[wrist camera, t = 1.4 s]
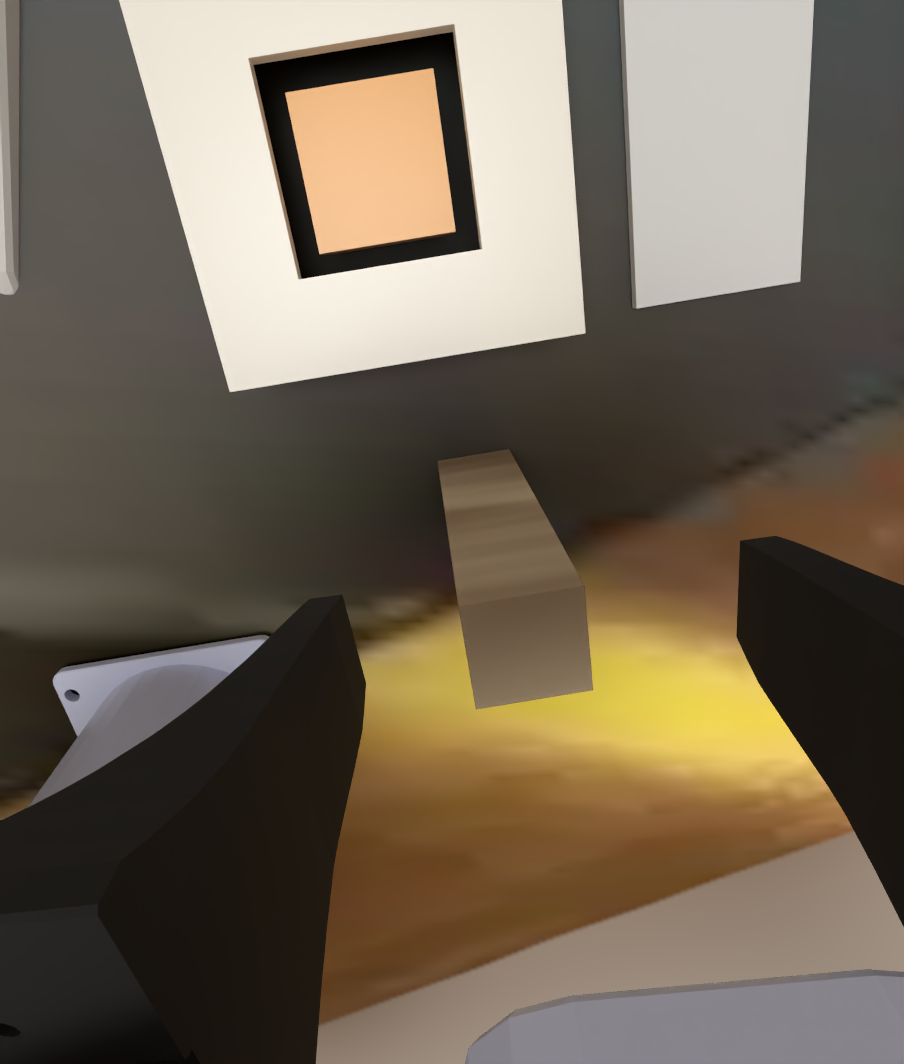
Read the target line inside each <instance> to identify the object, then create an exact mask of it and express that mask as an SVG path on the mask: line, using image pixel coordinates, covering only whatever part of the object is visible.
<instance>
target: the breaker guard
mask: <svg viewBox="0 0 904 1064" xmlns="http://www.w3.org/2000/svg"><path fill="white" fill-rule="evenodd" d="M119 1H120V5H121V8H122V12H123V15H124V19H125V22H126V26H127V30H128V33H129V37H130V40H131V44H132V47H133V51H134V54H135V58H136V61H137V65H138V68H139V72H140V76H141V79H142V83H143V86H144V90H145V93H146V97H147V100H148V104H149V107H150V111H151V115H152V118H153V122H154V125H155V129H156V132H157V136H158V139H159V143H160V146H161V150H162V153H163V157H164V161H165V164H166V168H167V171H168V175H169V178H170V182H171V185H172V189H173V192H174V196H175V199H176V203H177V207H178V210H179V214H180V217H181V221H182V224H183V228H184V231H185V235H186V238H187V242H188V245H189V249H190V253H191V256H192V260H193V263H194V267H195V270H196V274H197V277H198V281H199V284H200V288H201V291H202V295H203V299H204V302H205V306H206V309H207V313H208V316H209V320H210V323H211V327H212V330H213V334H214V337H215V341H216V345H217V348H218V352H219V355H220V359H221V362H222V366H223V369H224V373H225V376H226V380H227V383H228V387H229V391H230V392H234V391H240V390H246V389H252V388H258V387H264V386H270V385H276V384H282V383H288V382H294V381H300V380H306V379H312V378H319V377H325V376H331V375H337V374H343V373H349V372H355V371H361V370H367V369H373V368H379V367H385V366H391V365H397V364H403V363H409V362H415V361H421V360H427V359H433V358H439V357H445V356H451V355H458V354H464V353H470V352H476V351H482V350H488V349H494V348H500V347H506V346H512V345H518V344H524V343H530V342H536V341H542V340H548V339H554V338H560V337H566V336H572V335H578V334H584V333H585V320H584V306H583V292H582V278H581V264H580V250H579V236H578V222H577V208H576V194H575V180H574V166H573V152H572V138H571V124H570V110H569V96H568V82H567V68H566V54H565V40H564V26H563V12H562V0H119ZM449 32H453V37H454V45H455V53H456V61H457V69H458V77H459V85H460V93H461V101H462V109H463V117H464V125H465V133H466V141H467V149H468V157H469V165H470V173H471V181H472V189H473V197H474V205H475V213H476V221H477V229H478V237H479V245H480V250H474V251H468V252H462V253H456V254H450V255H443V256H437V257H431V258H425V259H419V260H413V261H407V262H401V263H395V264H389V265H383V266H377V267H371V268H365V269H359V270H353V271H347V272H341V273H335V274H329V275H323V276H317V277H311V278H305V279H302V278H301V273H300V269H299V265H298V260H297V256H296V251H295V247H294V242H293V238H292V234H291V229H290V225H289V220H288V216H287V211H286V207H285V202H284V198H283V194H282V189H281V185H280V180H279V176H278V171H277V167H276V163H275V158H274V154H273V149H272V145H271V140H270V136H269V132H268V127H267V123H266V118H265V114H264V109H263V105H262V100H261V96H260V92H259V87H258V83H257V78H256V74H255V69H254V65H257V64H263V63H269V62H275V61H281V60H287V59H293V58H299V57H305V56H311V55H317V54H323V53H329V52H335V51H341V50H347V49H353V48H359V47H365V46H371V45H377V44H383V43H389V42H395V41H401V40H407V39H413V38H419V37H425V36H431V35H437V34H443V33H449Z"/></svg>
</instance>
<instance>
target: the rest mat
mask: <svg viewBox="0 0 904 1064" xmlns="http://www.w3.org/2000/svg"><path fill="white" fill-rule="evenodd" d="M813 8H814V0H619V15H620V37H621V60H622V83H623V105H624V128H625V151H626V174H627V196H628V219H629V242H630V264H631V287H632V308H636V309H637V308H643V307H649V306H655V305H661V304H667V303H673V302H679V301H685V300H691V299H697V298H703V297H709V296H715V295H721V294H727V293H734V292H740V291H746V290H752V289H758V288H764V287H770V286H776V285H782V284H788V283H794V282H800V273H801V253H802V233H803V212H804V192H805V171H806V151H807V131H808V110H809V90H810V69H811V49H812V29H813Z"/></svg>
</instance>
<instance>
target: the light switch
mask: <svg viewBox="0 0 904 1064" xmlns="http://www.w3.org/2000/svg"><path fill="white" fill-rule="evenodd" d="M18 285H19V0H0V293H1V294H6V295H14V294H15V292H16V290H17V289H18Z"/></svg>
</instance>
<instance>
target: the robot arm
mask: <svg viewBox="0 0 904 1064" xmlns="http://www.w3.org/2000/svg"><path fill="white" fill-rule="evenodd" d="M737 639H738V641H739V643H740V645H741V647H742V649H743V652H744V654H745V656H746V658H747V660H748V663H749V665H750V666H751V668H752V670H753V672H754V674H755V676H756V678H757V680H758V682H759V684H760V686H761V687H762V689H763V690H764V692H765V693H766V695H767V697H768V698H769V700H770V701H771V703H772V704H773V706H774V707H775V709H776V710H777V712H778V713H779V715H780V716H781V718H782V719H783V721H784V722H785V723H786V725H787V726H788V728H789V729H790V731H791V732H792V734H793V735H794V737H795V738H796V740H797V741H798V743H799V744H800V746H801V747H802V749H803V750H804V751H805V753H806V754H807V756H808V757H809V759H810V760H811V762H812V763H813V765H814V766H815V768H816V769H817V771H818V772H819V774H820V775H821V777H822V778H823V779H824V781H825V782H826V784H827V785H828V787H829V788H830V790H831V792H832V793H833V795H834V797H835V798H836V800H837V801H838V803H839V805H840V806H841V808H842V809H843V811H844V813H845V815H846V816H847V818H848V820H849V822H850V824H851V826H852V828H853V829H854V831H855V833H856V835H857V837H858V839H859V841H860V843H861V844H862V846H863V848H864V850H865V852H866V854H867V856H868V858H869V859H870V861H871V863H872V865H873V867H874V869H875V871H876V873H877V875H878V877H879V879H880V881H881V883H882V884H883V887H884V889H885V890H886V893H887V895H888V897H889V899H890V900H891V902H892V904H893V906H894V908H895V911H896V912H897V914H898V916H899V918H900V920H901V922H902V924H903V926H904V586H903V585H900V584H898V583H895V582H892V581H890V580H887V579H885V578H882V577H880V576H877V575H875V574H872V573H870V572H867V571H865V570H862V569H860V568H857V567H855V566H853V565H850V564H848V563H845V562H843V561H840V560H838V559H836V558H833V557H831V556H828V555H826V554H824V553H821V552H819V551H816V550H814V549H811V548H809V547H806V546H804V545H801V544H798V543H796V542H793V541H790V540H787V539H784V538H781V537H777V536H772V537H765V538H758V539H750V540H743V541H740V560H739V587H738V613H737ZM53 685H54V687H55V689H56V692H57V694H58V696H59V698H60V700H61V702H62V704H63V707H64V709H65V711H66V713H67V715H68V717H69V719H70V722H71V724H72V726H73V728H74V730H75V732H76V734H77V739H76V740H75V741H74V743H73V744H72V746H71V747H70V749H69V750H68V751H67V753H66V754H65V756H64V757H63V758H62V760H61V761H60V763H59V764H58V765H57V767H56V768H55V770H54V771H53V772H52V774H51V775H50V777H49V778H48V779H47V781H46V782H45V784H44V785H43V787H42V788H41V789H40V791H39V792H38V794H37V795H36V796H35V798H34V799H33V801H32V802H31V803H30V805H29V806H28V808H26V809H24V810H22V811H20V812H18V813H16V814H14V815H12V816H10V817H8V818H5V819H3V820H1V821H0V1064H316V1050H317V1037H318V1024H319V1011H320V997H321V985H322V974H323V963H324V953H325V942H326V932H327V922H328V913H329V904H330V895H331V886H332V878H333V869H334V862H335V857H336V851H337V845H338V840H339V835H340V831H341V826H342V822H343V817H344V813H345V808H346V804H347V799H348V795H349V790H350V786H351V781H352V777H353V772H354V768H355V763H356V758H357V754H358V749H359V744H360V739H361V734H362V728H363V717H364V704H365V689H366V682H365V678H364V674H363V670H362V667H361V663H360V659H359V655H358V652H357V648H356V644H355V641H354V637H353V633H352V629H351V626H350V622H349V618H348V614H347V611H346V607H345V603H344V599H343V596H342V595H336V596H329V597H321V598H314V599H310V600H308V601H307V602H306V603H305V604H304V605H302V606H301V607H300V608H299V609H298V610H297V611H296V612H295V613H294V614H293V615H292V616H291V617H290V618H289V619H288V620H287V621H286V622H285V623H284V624H283V625H282V626H281V627H280V628H278V629H277V630H276V631H275V632H274V633H273V634H272V635H271V636H270V637H269V636H266V635H257V636H251V637H245V638H238V639H232V640H226V641H220V642H214V643H208V644H202V645H196V646H190V647H184V648H178V649H172V650H165V651H159V652H153V653H147V654H141V655H135V656H129V657H123V658H117V659H111V660H105V661H99V662H93V663H86V664H80V665H74V666H68V667H64V668H62V669H61V670H60V671H59V672H58V673H57V674H56V675H55V676H54V678H53ZM70 689H71V690H75V691H77V692H78V693H79V694H80V695H76V694H73V693H72V692H71V691H70ZM465 1064H904V972H897V971H881V970H867V969H866V970H855V971H843V972H832V973H821V974H809V975H798V976H787V977H775V978H764V979H754V980H741V981H731V982H719V983H708V984H696V985H685V986H674V987H663V988H652V989H641V990H629V991H617V992H607V993H596V994H583V995H573V996H568V997H565V998H561V999H556V1000H552V1001H548V1002H544V1003H540V1004H537V1005H533V1006H528V1007H525V1008H521V1009H516V1010H515V1011H513V1012H512V1013H511V1014H509V1015H508V1016H507V1017H505V1018H504V1019H503V1020H501V1021H500V1022H499V1023H497V1024H496V1025H495V1026H493V1027H492V1028H491V1029H489V1030H488V1031H487V1032H485V1033H484V1034H483V1035H481V1036H480V1037H479V1038H478V1039H477V1040H476V1041H475V1042H474V1043H473V1044H472V1045H471V1046H470V1047H469V1048H468V1053H467V1057H466V1062H465Z"/></svg>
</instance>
